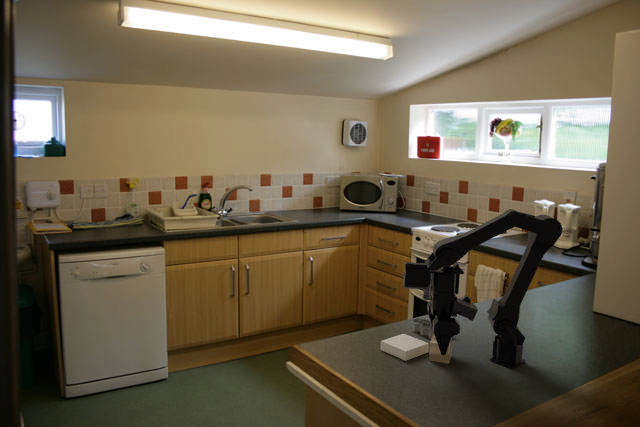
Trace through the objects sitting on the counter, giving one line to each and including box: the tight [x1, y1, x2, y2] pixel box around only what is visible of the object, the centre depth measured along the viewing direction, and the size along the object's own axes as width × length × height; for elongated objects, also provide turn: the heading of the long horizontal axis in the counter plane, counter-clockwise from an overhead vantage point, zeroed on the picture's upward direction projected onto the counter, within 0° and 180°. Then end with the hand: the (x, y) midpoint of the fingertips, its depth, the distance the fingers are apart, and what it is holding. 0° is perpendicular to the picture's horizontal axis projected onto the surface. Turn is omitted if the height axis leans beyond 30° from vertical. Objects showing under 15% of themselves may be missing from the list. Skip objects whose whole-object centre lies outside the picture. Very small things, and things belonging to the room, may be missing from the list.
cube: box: [428, 336, 453, 364], centre depth 139 cm, size 5×5×5 cm
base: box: [380, 333, 430, 361], centre depth 144 cm, size 9×9×2 cm
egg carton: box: [410, 317, 435, 340], centre depth 158 cm, size 11×8×4 cm
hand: (441, 347), depth 139 cm, fingers open, 9 cm apart
